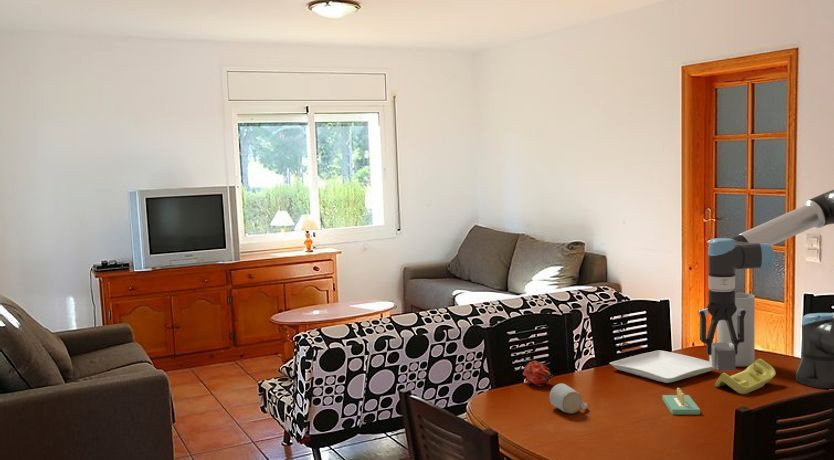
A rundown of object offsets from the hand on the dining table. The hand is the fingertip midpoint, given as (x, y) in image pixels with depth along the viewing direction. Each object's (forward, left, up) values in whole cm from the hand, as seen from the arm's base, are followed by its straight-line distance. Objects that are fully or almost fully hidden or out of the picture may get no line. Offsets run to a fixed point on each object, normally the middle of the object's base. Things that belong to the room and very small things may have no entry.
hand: (721, 364), depth 233 cm
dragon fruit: (+54, -24, -13) cm, 61 cm away
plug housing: (0, -2, 0) cm, 2 cm away
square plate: (+9, -38, -13) cm, 41 cm away
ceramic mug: (+46, +3, -13) cm, 48 cm away
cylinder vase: (-19, -49, -13) cm, 54 cm away
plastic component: (-14, -20, -13) cm, 28 cm away
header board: (+12, +1, -13) cm, 18 cm away
